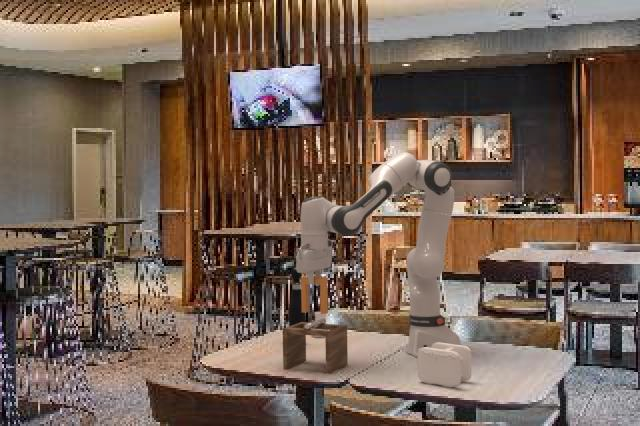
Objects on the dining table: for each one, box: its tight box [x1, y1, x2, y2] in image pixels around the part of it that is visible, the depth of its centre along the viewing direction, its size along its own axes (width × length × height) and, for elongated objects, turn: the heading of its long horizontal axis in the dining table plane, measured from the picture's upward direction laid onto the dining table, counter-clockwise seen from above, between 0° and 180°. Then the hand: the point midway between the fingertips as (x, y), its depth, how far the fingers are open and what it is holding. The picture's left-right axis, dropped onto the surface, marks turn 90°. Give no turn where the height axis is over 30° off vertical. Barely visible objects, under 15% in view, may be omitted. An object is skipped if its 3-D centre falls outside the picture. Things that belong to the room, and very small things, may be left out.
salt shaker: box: [312, 311, 327, 339], centre depth 341 cm, size 8×8×10 cm
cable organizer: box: [417, 342, 472, 389], centre depth 262 cm, size 15×11×12 cm
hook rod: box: [304, 318, 327, 330], centre depth 287 cm, size 2×13×2 cm, turn 153°
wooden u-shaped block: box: [300, 275, 329, 315], centre depth 286 cm, size 9×2×12 cm, turn 63°
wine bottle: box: [288, 268, 306, 327], centre depth 323 cm, size 6×6×30 cm
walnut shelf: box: [282, 321, 349, 375], centre depth 287 cm, size 18×14×14 cm
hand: (314, 283), depth 286 cm, fingers closed on wooden u-shaped block, 2 cm apart
